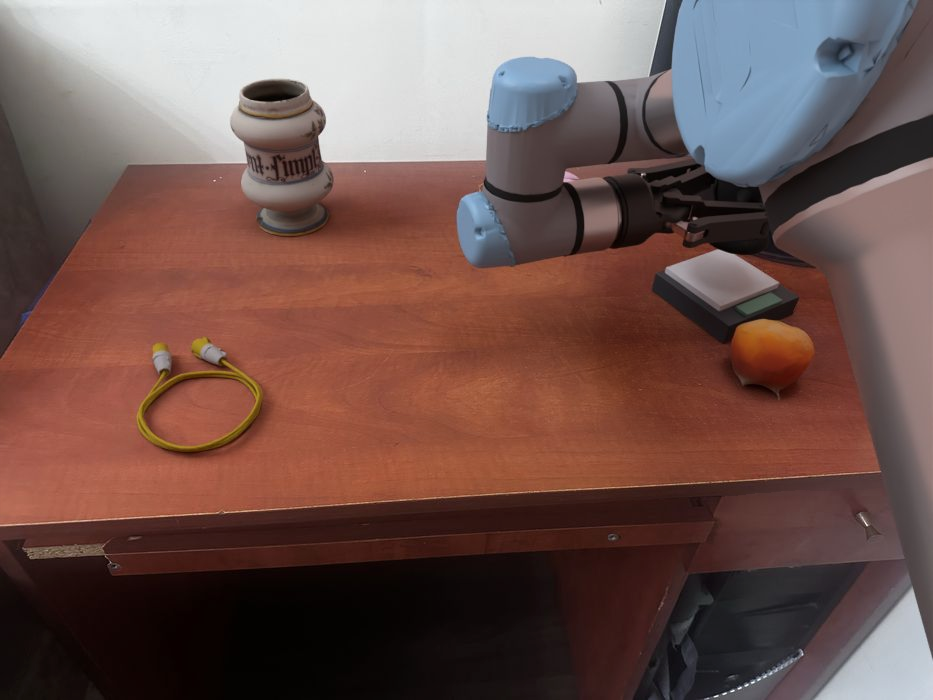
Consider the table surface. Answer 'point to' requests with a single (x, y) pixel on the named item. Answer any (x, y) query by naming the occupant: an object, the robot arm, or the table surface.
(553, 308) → the table surface
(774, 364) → the fruit
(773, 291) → the scale
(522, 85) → the robot arm
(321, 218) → the apothecary jar
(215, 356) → the extension cord
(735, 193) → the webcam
